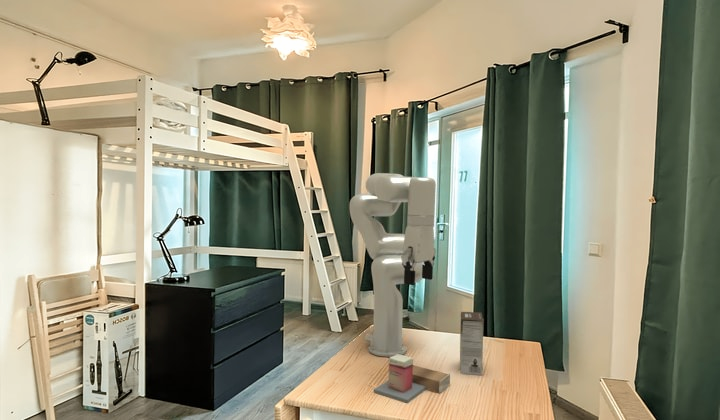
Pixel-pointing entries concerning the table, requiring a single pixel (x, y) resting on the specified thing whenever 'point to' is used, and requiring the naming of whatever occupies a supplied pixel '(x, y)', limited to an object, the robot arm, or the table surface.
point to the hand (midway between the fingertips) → (418, 281)
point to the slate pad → (400, 392)
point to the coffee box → (471, 343)
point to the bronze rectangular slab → (430, 379)
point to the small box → (400, 372)
